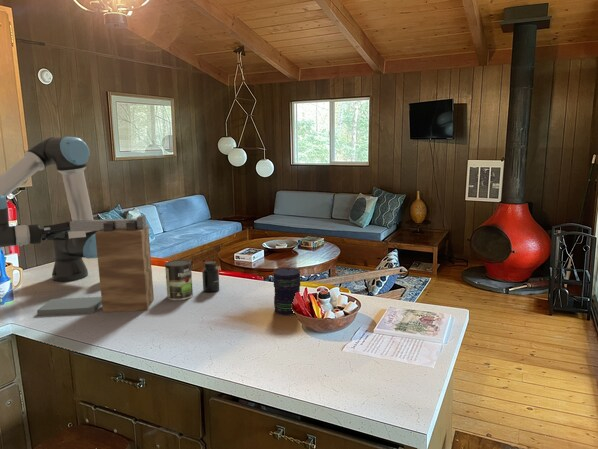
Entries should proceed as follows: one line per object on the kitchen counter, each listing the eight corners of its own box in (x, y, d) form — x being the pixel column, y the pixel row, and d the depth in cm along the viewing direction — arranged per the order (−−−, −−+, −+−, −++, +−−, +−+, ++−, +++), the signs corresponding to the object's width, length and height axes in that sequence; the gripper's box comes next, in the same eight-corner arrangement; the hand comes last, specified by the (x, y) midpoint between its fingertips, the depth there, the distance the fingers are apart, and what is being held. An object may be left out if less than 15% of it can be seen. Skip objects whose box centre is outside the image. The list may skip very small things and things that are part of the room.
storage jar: (297, 316, 163) (297, 275, 161) (271, 314, 165) (270, 274, 163) (303, 306, 173) (302, 268, 170) (277, 305, 175) (276, 267, 172)
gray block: (51, 304, 180) (51, 299, 180) (104, 301, 182) (104, 296, 181) (37, 315, 168) (37, 310, 168) (94, 312, 170) (93, 307, 170)
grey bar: (74, 229, 172) (73, 217, 172) (146, 226, 175) (145, 215, 174) (69, 231, 167) (68, 219, 167) (143, 229, 170) (142, 217, 169)
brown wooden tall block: (112, 301, 182) (104, 219, 176) (153, 299, 184) (147, 217, 178) (102, 312, 170) (94, 224, 164) (147, 309, 172) (140, 223, 166)
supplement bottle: (217, 292, 190) (216, 264, 188) (201, 293, 190) (199, 264, 188) (221, 287, 197) (219, 260, 195) (205, 287, 197) (203, 260, 195)
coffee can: (198, 295, 188) (196, 261, 185) (178, 302, 179) (175, 267, 177) (182, 290, 194) (180, 258, 191) (161, 297, 186) (159, 263, 183)
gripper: (27, 251, 186) (84, 245, 198) (31, 236, 166) (94, 230, 178) (25, 233, 187) (82, 228, 199) (29, 216, 167) (91, 212, 179)
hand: (88, 229), depth 189 cm, fingers open, 13 cm apart
